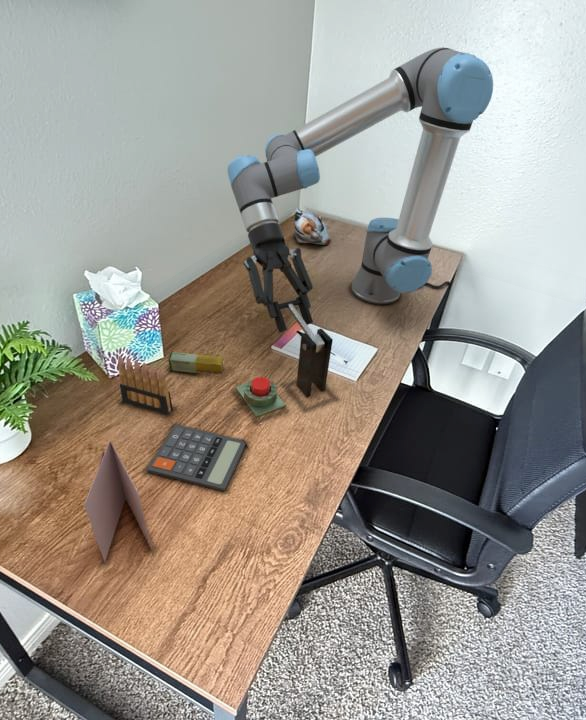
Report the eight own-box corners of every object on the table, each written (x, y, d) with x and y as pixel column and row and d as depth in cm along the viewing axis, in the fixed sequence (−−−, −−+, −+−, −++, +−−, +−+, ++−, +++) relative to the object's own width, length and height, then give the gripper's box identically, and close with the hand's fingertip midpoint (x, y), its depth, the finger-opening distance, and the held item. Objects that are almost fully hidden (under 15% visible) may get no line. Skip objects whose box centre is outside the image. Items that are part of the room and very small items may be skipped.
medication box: (169, 371, 106) (167, 359, 104) (173, 363, 108) (170, 350, 106) (221, 376, 107) (220, 364, 104) (224, 368, 108) (223, 356, 106)
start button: (247, 387, 100) (247, 380, 98) (264, 381, 102) (264, 374, 100) (256, 398, 97) (256, 391, 96) (273, 392, 99) (273, 385, 98)
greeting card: (120, 497, 80) (104, 439, 71) (164, 498, 81) (154, 441, 71) (98, 561, 71) (77, 505, 62) (148, 562, 72) (134, 506, 62)
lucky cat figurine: (337, 244, 169) (335, 218, 156) (309, 260, 167) (305, 235, 154) (314, 218, 175) (311, 191, 162) (287, 233, 173) (282, 207, 160)
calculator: (175, 423, 93) (246, 440, 91) (175, 426, 94) (246, 443, 92) (146, 468, 84) (224, 488, 82) (146, 471, 84) (224, 491, 83)
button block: (235, 393, 103) (235, 379, 101) (263, 383, 106) (263, 370, 104) (256, 422, 97) (256, 408, 94) (285, 411, 100) (286, 397, 98)
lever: (274, 309, 102) (276, 301, 100) (297, 303, 105) (299, 295, 103) (306, 355, 96) (308, 348, 94) (329, 348, 99) (332, 341, 97)
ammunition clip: (173, 409, 97) (167, 365, 90) (168, 415, 96) (162, 371, 88) (127, 396, 99) (118, 352, 91) (122, 401, 97) (112, 357, 90)
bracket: (285, 386, 107) (289, 330, 97) (314, 375, 110) (321, 320, 101) (305, 410, 101) (312, 354, 91) (335, 399, 105) (345, 343, 95)
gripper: (293, 229, 110) (323, 321, 110) (218, 241, 101) (251, 341, 101) (306, 215, 104) (339, 313, 104) (228, 227, 94) (264, 335, 95)
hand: (296, 327), depth 102 cm, fingers closed on lever, 6 cm apart
